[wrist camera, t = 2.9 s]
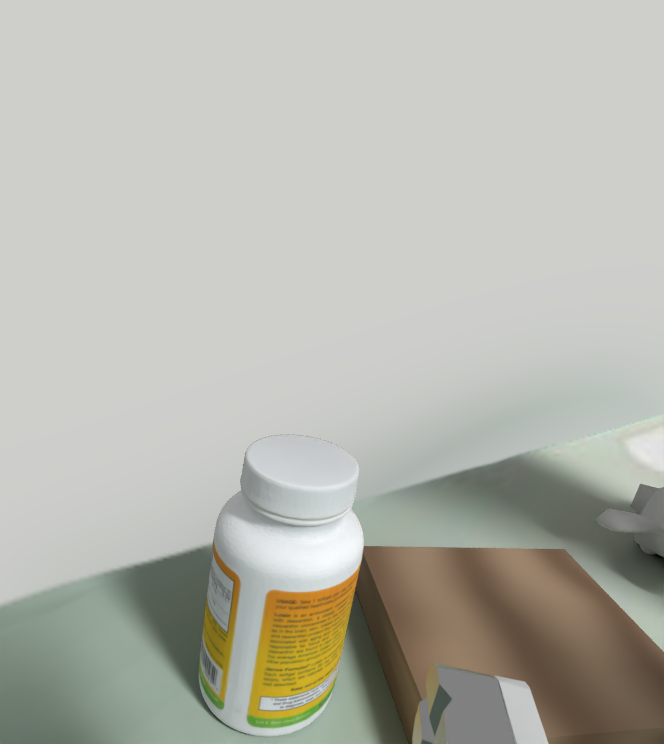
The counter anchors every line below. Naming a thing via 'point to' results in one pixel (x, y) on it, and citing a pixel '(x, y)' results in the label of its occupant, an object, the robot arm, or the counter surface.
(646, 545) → the bunny figurine
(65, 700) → the counter surface
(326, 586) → the supplement bottle
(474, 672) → the robot arm
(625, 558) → the counter surface
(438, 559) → the walnut base
